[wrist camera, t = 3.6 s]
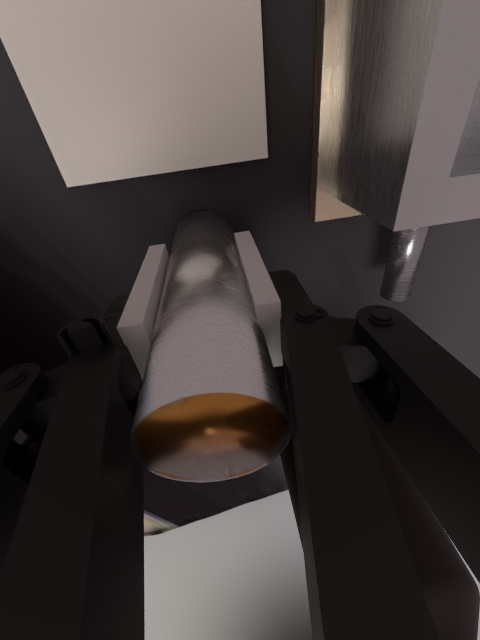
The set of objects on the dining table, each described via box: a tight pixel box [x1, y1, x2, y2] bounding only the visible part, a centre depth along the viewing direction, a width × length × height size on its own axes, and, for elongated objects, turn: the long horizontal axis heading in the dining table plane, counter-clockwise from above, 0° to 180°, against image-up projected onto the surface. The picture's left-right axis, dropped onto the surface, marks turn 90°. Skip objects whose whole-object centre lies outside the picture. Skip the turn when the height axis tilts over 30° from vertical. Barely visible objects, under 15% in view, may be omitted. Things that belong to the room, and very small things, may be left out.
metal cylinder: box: [130, 210, 291, 482], centre depth 12 cm, size 4×4×13 cm
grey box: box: [310, 0, 480, 302], centre depth 12 cm, size 9×16×8 cm, turn 6°
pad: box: [0, 0, 268, 187], centre depth 11 cm, size 10×10×1 cm
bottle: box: [274, 356, 480, 640], centre depth 16 cm, size 7×7×20 cm
